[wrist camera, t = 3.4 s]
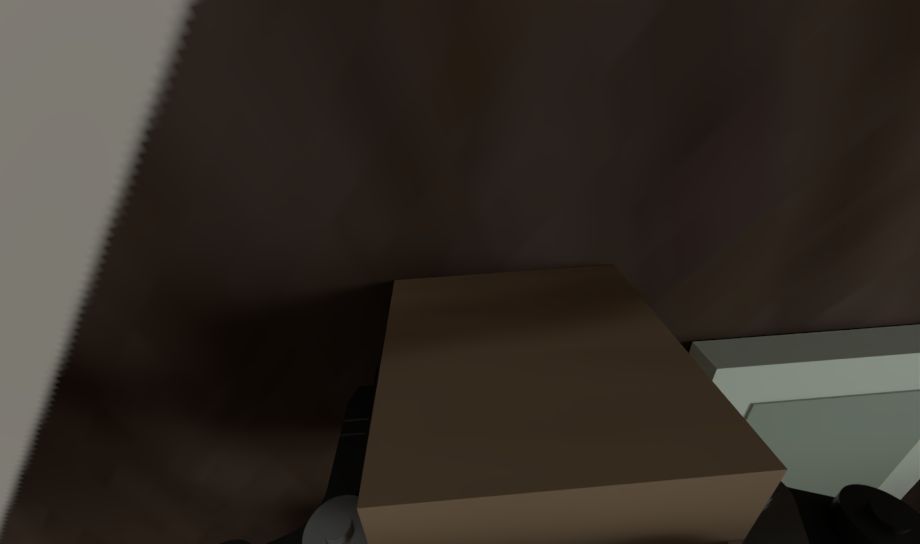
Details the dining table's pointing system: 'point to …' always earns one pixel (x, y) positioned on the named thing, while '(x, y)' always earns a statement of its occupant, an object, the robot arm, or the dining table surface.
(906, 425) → the plate
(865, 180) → the dining table surface
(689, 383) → the walnut cube
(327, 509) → the robot arm
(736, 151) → the dining table surface
